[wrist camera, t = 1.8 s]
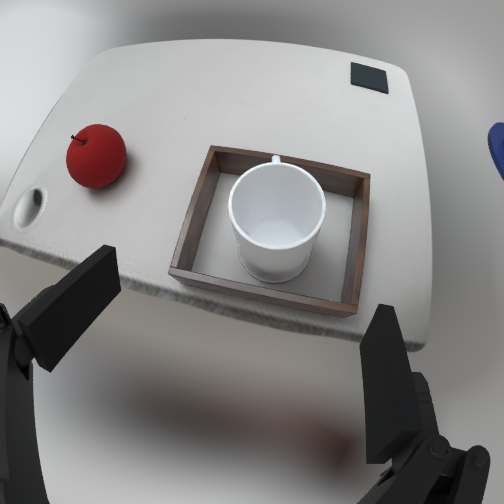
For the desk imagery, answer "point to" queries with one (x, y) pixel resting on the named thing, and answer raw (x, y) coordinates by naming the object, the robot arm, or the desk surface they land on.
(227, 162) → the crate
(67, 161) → the apple
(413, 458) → the robot arm
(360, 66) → the mat
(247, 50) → the desk surface
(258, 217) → the mug
